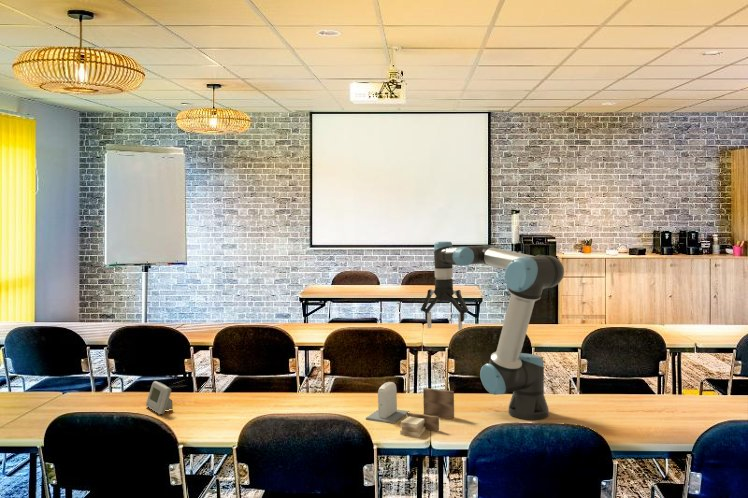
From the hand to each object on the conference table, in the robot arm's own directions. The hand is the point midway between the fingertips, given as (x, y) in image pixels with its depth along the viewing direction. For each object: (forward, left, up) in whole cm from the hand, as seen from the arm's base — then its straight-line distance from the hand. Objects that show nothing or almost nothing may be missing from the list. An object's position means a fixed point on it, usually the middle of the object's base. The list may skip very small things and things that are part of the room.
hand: (444, 328), depth 258 cm
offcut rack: (-5, +30, -30) cm, 43 cm away
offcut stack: (-3, +43, -30) cm, 53 cm away
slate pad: (+13, +30, -30) cm, 45 cm away
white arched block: (+13, +30, -30) cm, 44 cm away
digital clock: (+103, +61, -30) cm, 123 cm away
